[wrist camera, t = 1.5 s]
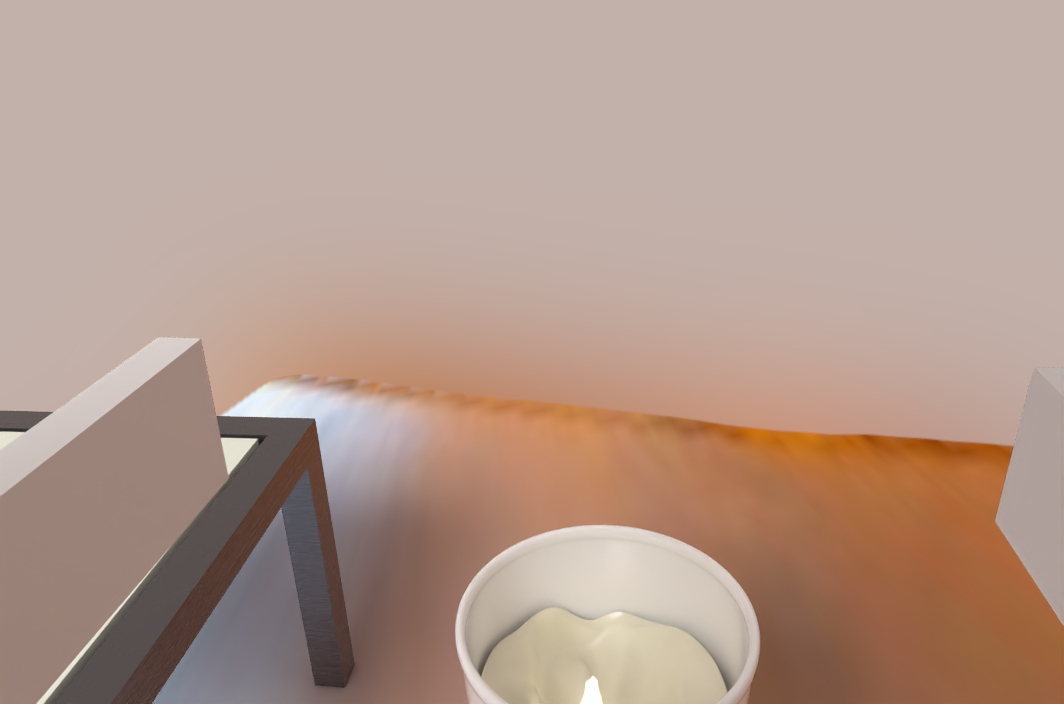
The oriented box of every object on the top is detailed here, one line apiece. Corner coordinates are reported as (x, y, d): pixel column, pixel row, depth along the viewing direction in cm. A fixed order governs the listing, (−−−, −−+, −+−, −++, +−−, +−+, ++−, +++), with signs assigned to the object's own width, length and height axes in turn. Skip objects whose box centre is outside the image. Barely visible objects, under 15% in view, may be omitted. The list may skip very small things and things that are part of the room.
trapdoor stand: (354, 663, 41) (315, 418, 35) (179, 1099, 25) (55, 781, 19) (47, 645, 43) (-39, 409, 37) (-299, 1040, 27) (-543, 734, 21)
